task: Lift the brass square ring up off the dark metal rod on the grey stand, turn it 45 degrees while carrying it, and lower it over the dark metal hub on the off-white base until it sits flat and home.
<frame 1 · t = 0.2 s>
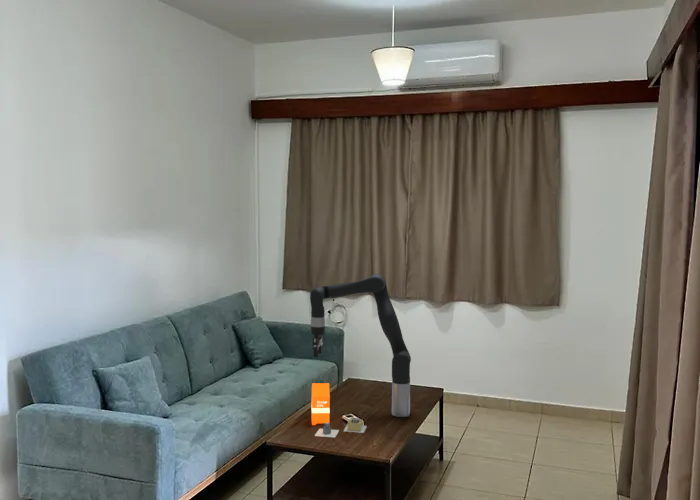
hand: (317, 355, 351), 29 cm above the table, tool pointing down, fingers open, 8 cm apart
rod stand: (355, 430, 322), on the table
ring: (355, 428, 321), point 1 cm above the table, touching rod stand
hub: (327, 434, 315), on the table
orange juice: (320, 422, 332), on the table
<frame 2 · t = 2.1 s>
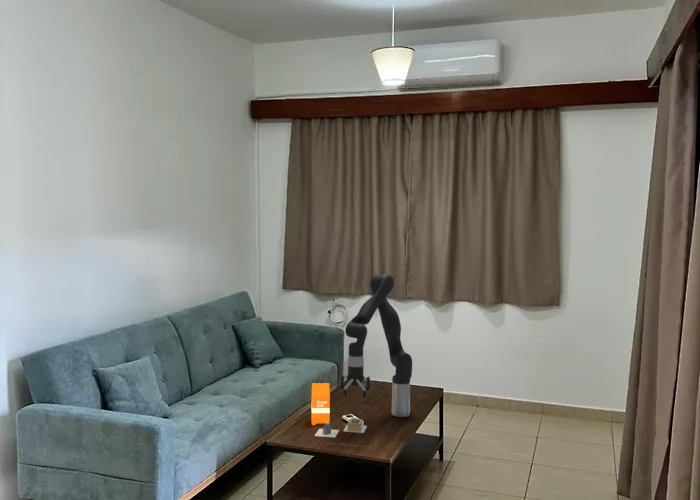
hand: (355, 397, 320), 16 cm above the table, tool pointing down, fingers open, 8 cm apart
nothing on the table moved.
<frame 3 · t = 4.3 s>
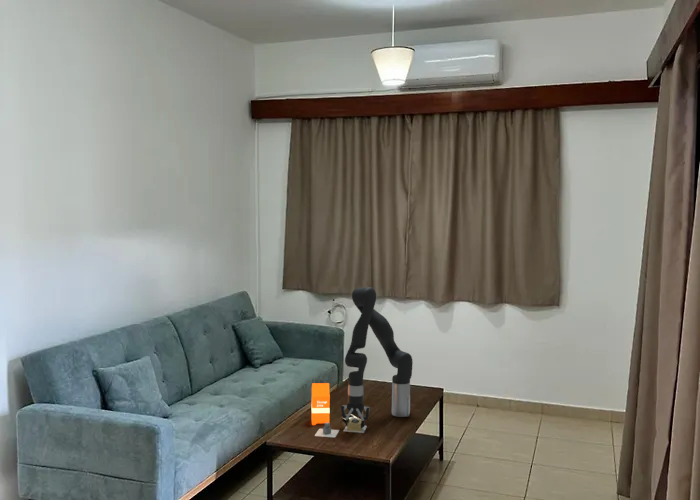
hand: (355, 427, 321), 1 cm above the table, tool pointing down, fingers closed on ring, 6 cm apart
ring: (355, 428, 321), point 1 cm above the table, touching gripper, rod stand
everything else where it was.
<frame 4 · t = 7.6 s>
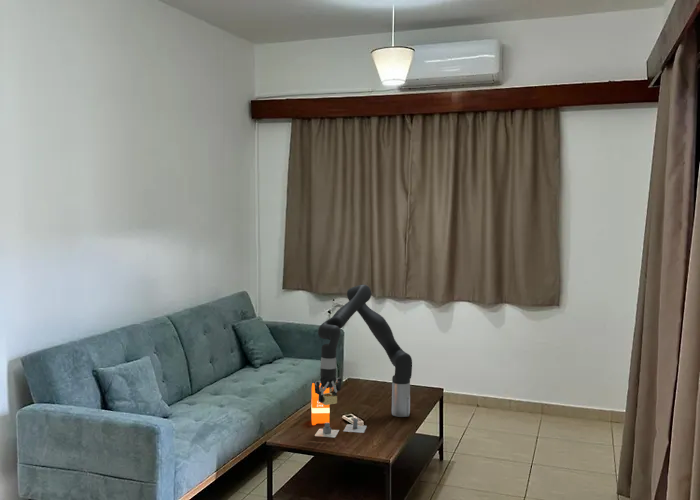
hand: (327, 401, 314), 16 cm above the table, tool pointing down, fingers closed on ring, 6 cm apart
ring: (327, 402, 314), point 16 cm above the table, touching gripper
everything else where it was.
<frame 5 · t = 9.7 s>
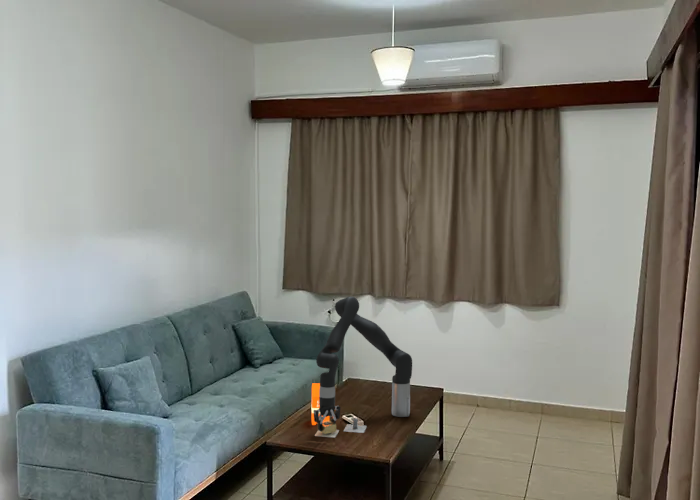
hand: (326, 429, 315), 3 cm above the table, tool pointing down, fingers closed on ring, 6 cm apart
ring: (326, 430, 315), point 2 cm above the table, touching gripper
everything else where it was.
when the fingers open (2 cm above the table, at t = 11.2 s): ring stays where it is, resting on hub.
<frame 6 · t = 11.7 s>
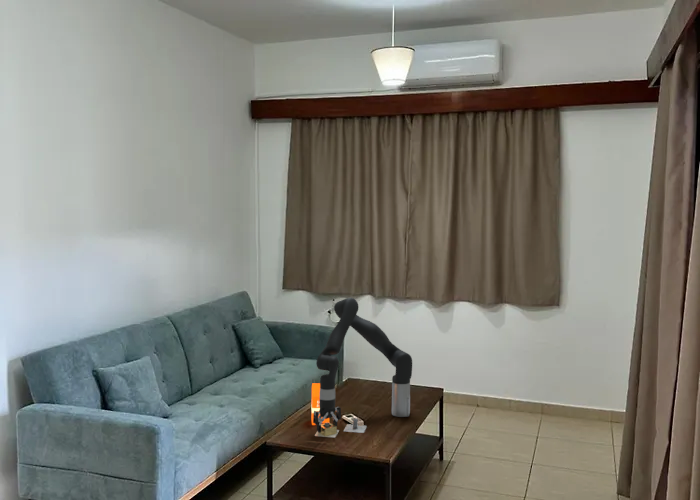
hand: (327, 430, 315), 2 cm above the table, tool pointing down, fingers open, 8 cm apart
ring: (327, 432, 315), point 1 cm above the table, touching hub
everything else where it was.
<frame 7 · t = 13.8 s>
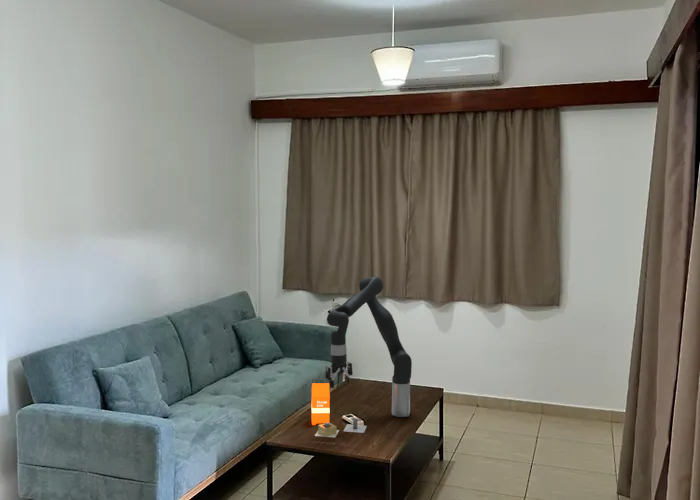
hand: (339, 386, 318), 22 cm above the table, tool pointing down, fingers open, 8 cm apart
nothing on the table moved.
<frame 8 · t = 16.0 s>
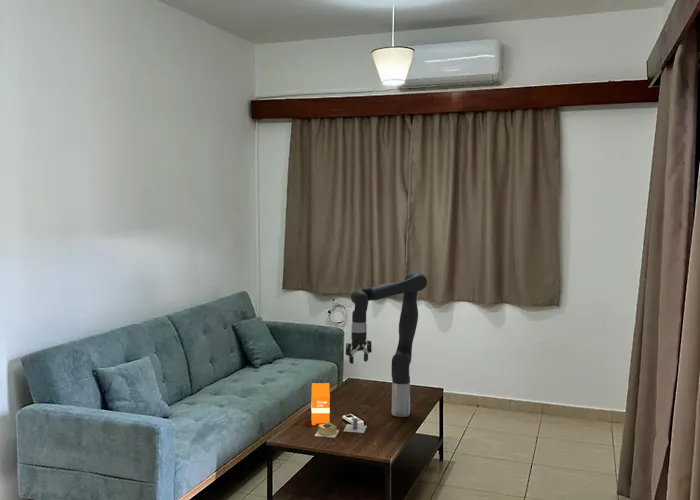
hand: (358, 362, 332), 30 cm above the table, tool pointing down, fingers open, 8 cm apart
nothing on the table moved.
at the end: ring 0.1 cm off-centre on the hub, point 0.8 cm above the hub's base; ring tilted 0°; the gripper is holding nothing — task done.
